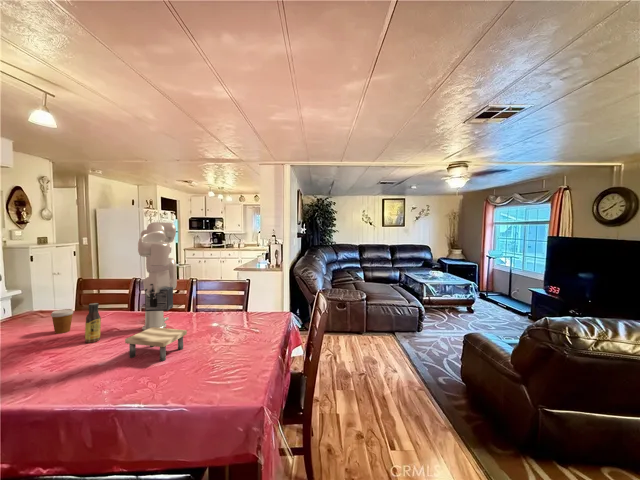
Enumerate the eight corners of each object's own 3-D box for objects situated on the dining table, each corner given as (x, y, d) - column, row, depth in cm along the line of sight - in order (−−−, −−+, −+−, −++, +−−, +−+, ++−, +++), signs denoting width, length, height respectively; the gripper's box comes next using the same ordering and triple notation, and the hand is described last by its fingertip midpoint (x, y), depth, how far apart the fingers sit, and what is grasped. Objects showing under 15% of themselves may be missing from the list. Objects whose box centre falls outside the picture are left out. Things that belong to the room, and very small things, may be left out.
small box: (173, 307, 135) (173, 286, 135) (168, 311, 129) (168, 289, 128) (151, 307, 134) (151, 286, 134) (144, 311, 128) (144, 289, 127)
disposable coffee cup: (47, 333, 153) (47, 312, 153) (68, 327, 162) (67, 307, 161) (56, 335, 149) (56, 314, 149) (77, 330, 158) (77, 309, 158)
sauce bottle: (91, 344, 140) (91, 305, 139) (81, 342, 141) (81, 305, 141) (103, 339, 146) (103, 302, 146) (94, 338, 148) (94, 301, 147)
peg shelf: (152, 344, 141) (152, 327, 141) (186, 347, 138) (186, 330, 137) (125, 358, 125) (125, 339, 125) (163, 362, 122) (163, 342, 122)
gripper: (165, 265, 140) (165, 299, 141) (138, 270, 123) (138, 309, 123) (178, 266, 139) (178, 300, 140) (153, 271, 122) (153, 310, 122)
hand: (159, 304), depth 131 cm, fingers closed on small box, 7 cm apart
